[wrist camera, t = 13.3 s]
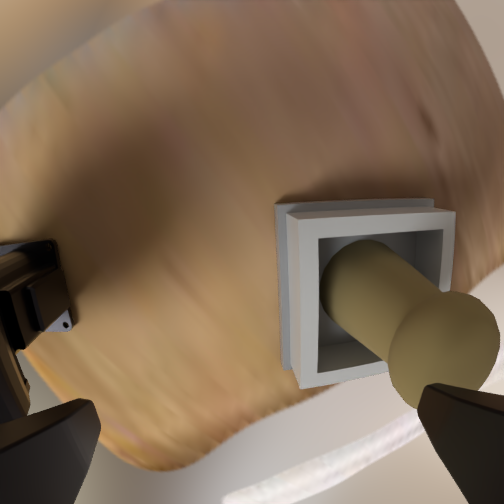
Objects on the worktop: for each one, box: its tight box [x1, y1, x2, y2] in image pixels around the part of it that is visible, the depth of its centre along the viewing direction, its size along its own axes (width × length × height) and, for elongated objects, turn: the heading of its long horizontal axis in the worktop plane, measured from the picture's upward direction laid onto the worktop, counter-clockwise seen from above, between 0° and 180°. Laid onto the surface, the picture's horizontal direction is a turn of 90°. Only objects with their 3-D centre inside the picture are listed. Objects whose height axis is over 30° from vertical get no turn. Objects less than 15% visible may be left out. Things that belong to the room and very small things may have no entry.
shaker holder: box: [274, 198, 456, 389], centre depth 19 cm, size 11×11×4 cm
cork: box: [320, 239, 500, 409], centre depth 15 cm, size 6×6×11 cm
